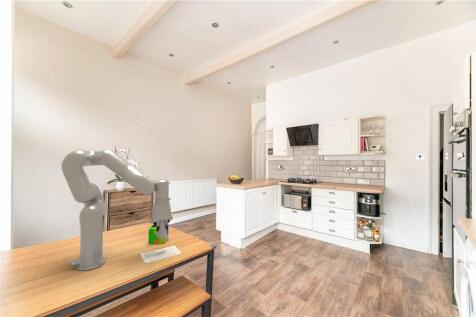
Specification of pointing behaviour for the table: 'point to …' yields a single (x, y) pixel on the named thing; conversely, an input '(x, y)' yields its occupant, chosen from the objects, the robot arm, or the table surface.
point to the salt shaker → (162, 230)
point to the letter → (160, 254)
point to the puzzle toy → (153, 237)
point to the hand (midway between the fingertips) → (161, 231)
